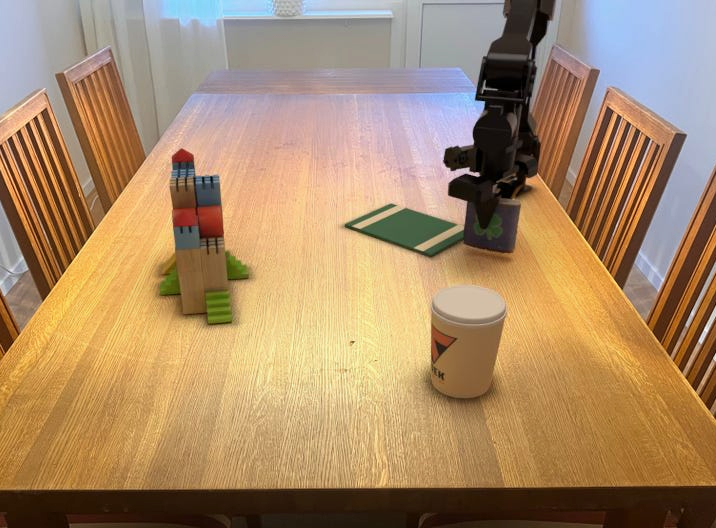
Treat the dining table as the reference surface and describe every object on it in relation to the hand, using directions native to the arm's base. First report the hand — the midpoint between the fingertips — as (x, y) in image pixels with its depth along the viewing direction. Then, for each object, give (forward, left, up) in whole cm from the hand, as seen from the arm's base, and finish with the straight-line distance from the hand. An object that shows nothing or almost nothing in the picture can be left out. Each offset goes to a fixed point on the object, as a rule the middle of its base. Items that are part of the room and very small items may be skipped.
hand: (488, 225), depth 127 cm
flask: (0, 0, -4) cm, 4 cm away
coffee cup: (+35, +19, -6) cm, 40 cm away
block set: (+39, -28, -6) cm, 49 cm away
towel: (0, -16, -6) cm, 17 cm away
